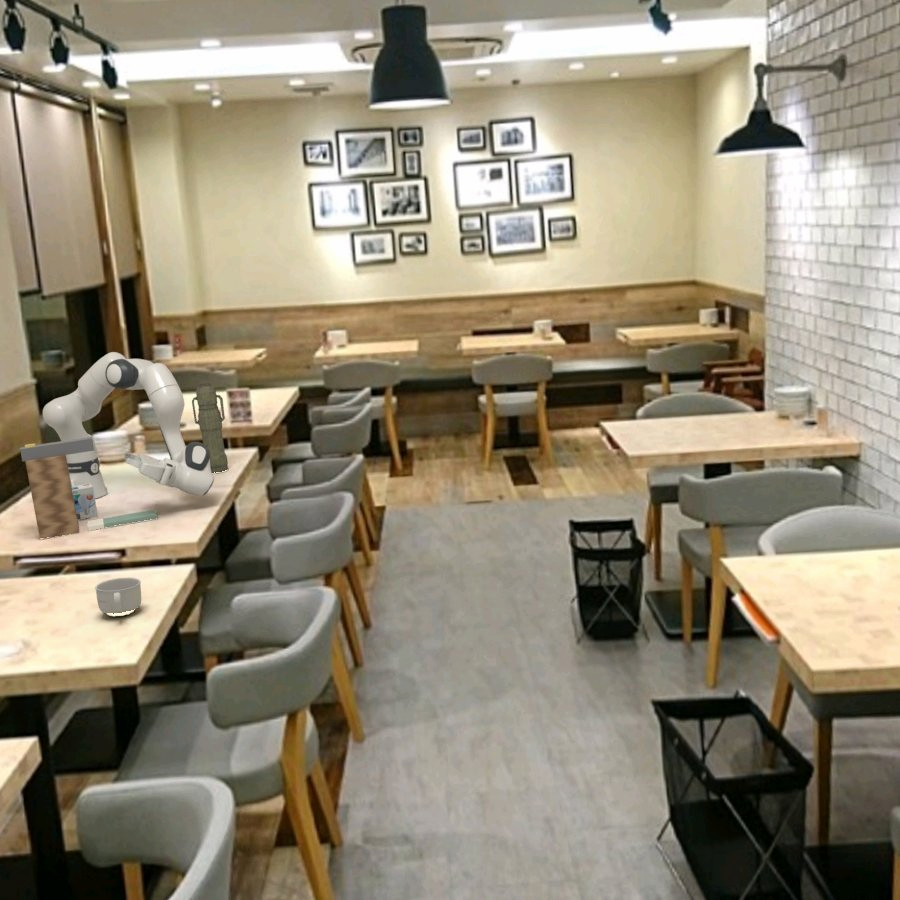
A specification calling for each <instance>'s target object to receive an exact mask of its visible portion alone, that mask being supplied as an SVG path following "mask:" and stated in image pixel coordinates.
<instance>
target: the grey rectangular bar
mask: <svg viewBox="0 0 900 900" xmlns="http://www.w3.org/2000/svg"><path fill="white" fill-rule="evenodd" d="M92 437H93V436H92ZM92 437H86V438H80V439H73V440H66V441H61V440H60V441H54V442H53V441H52V442H46V443H40V444H36V443H28V444H24V446H21V447H20V448H19V450H20V454H21V455H20V456H21V461H22V462H26V461H29V460H36V459H42V458H49V457H55V456H62V455H69V454H75V453H82V452H88V451H94V445H93V440H92Z"/></svg>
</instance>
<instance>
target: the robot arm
mask: <svg viewBox="0 0 900 900" xmlns="http://www.w3.org/2000/svg"><path fill="white" fill-rule="evenodd" d="M77 386H78V387H77V388H76V389H75V390H74V391H72V392H71V393H69V394H67V395H64V396H60V397H57V398H54V399H52V400H51V401H49V402H47V403H46V404H45V405H44V407H43V409H42V418H43V420H44V422H45V423H46V424H47V425H48V426H49V427H51V428H52V429H53V430H54V431H55V432H56V433H57V435H58V437H59V439H60V441H66V440H73V439H80V438H86V437H92V440H93V445H94V451H88V452H82V453H75V454H69V455H66V459H67V464H68V470H69V475H70V481H71V487H74V486H79V485H85V484H91V485H92V486H93V490H94V496H95V499H98V498H102V497H105V496H106V495H107V494H108V493H109V492H108V489H107V487H106V485H105V483H104V479H103V476H102V472H101V470H100V467H101V465H100V460H99V457H98V456H97V449H96V444H95V439H94V437H93V436H92V435H91V434H89V433H87V431H86V429H85V428H84V426H83V422H86V421H89V420H91V419H93V418H95V417H97V415H98V414H100V412H101V410H102V403H103V402H104V401H105V399H106V398H107V397H108V396H109V395H110V394H111V392H113V391H114V390H115V389H119V390H131V391H135V390H144V391H145V392H146V395H147V397H148V400H149V402H150V404H151V407H152V408H153V411H154V414H155V416H156V419H157V423H158V426H159V430H160V433H161V435H162V439H163V442H164V444H165V446H166V447H165V448H166V450H167V452H168V455H169V458H168V457H165V458H164V459H163V460H162V459H158V458H155V457H153V456H151V455H148V454H145V453H141V452H140V453H138V455H137V454H134V453H129V452H125V454H124V455H123V457H124V458H125V464H127V465H130V466H132V467H133V468H137V469H138V471H139V473H140V474H141V475H143V476H146V477H148V478H149V479H153V480H154V481H155V482H156V483H158V484H161V485H164V486H166V487H168V488H175V489H178V490H179V491H182V492H183V493H187V494H190V495H195V496H200V497H202V496H205V495H206V494H208V492H209V491H210V489H211V488H212V487H213V483H214V482H215V476H214V475H213V474H212V472H211V468H210V451H209V449H208V448H207V447H206V446H205V445H204V444H203V442H200V441H191V442H189V443H188V444H186V443H185V441H184V438H183V435H182V433H181V421H182V416H183V413H184V409H185V399H184V395H183V392H182V390H181V388H180V385H179V383H178V381H177V380H176V378H175V376H174V374H172V372H171V370H169V368H168V367H167V365H165V364H163V363H161V362H156V361H154V360H151V359H142V358H126V356H124V355H123V354H122V353H119V352H117V351H116V352H115V351H112V352H108V353H107V354H105V355H104V356H102V357H100V358H99V359H98V360H97V361H96V362H94V363H93V365H91V367H89V369H88V370H87V371H85V373H84V374H83V375H82V376H81V377H80V378H79V379H78V382H77Z"/></svg>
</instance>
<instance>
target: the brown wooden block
mask: <svg viewBox="0 0 900 900" xmlns="http://www.w3.org/2000/svg"><path fill="white" fill-rule="evenodd" d="M25 466H26V467H25V468H26V472H27V476H28V483H29V487H30V492H31V493H30V494H31V499H32V504H33V510H34V515H35V519H36V524H37V525H36V526H37V531H38V536H39V539H40V538H47V537H54V538H56V537H55V536H59V537H63V536H62V535H65V536H69V534H71V535H75V534H76V535H77V534H79V533H80V527H79V526H80V525H79V520H77V515H76V509H75V503H74V498H73V492H72V487H71V481H70V475H69V470H68V464H67V459H66V455H62V456H55V457H49V458H42V459H36V460H29V461H25Z"/></svg>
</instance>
